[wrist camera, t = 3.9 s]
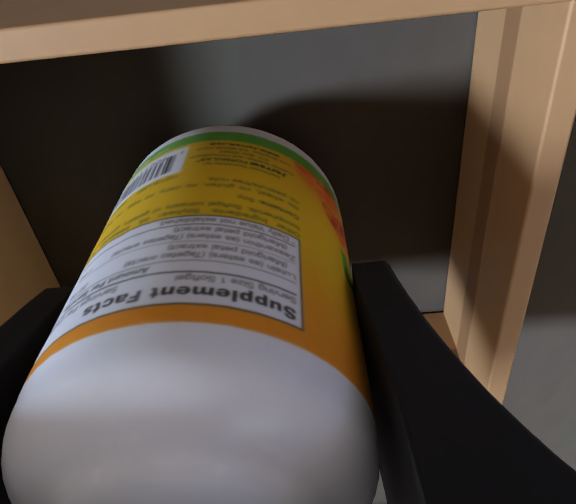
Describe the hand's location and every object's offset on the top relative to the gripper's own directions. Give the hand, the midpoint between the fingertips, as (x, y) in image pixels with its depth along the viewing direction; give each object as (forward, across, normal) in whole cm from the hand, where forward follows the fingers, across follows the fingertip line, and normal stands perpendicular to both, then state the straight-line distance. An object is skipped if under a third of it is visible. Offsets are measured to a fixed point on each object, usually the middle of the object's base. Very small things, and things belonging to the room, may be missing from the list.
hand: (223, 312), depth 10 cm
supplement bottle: (+4, 0, 0) cm, 4 cm away
